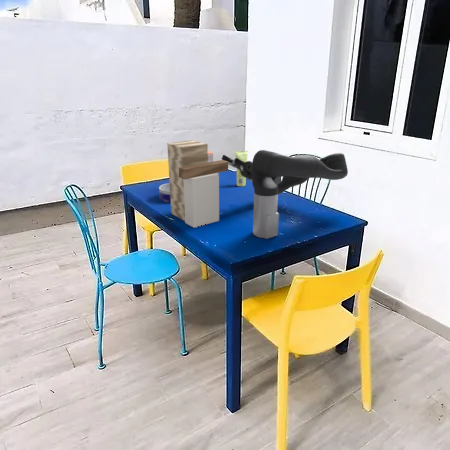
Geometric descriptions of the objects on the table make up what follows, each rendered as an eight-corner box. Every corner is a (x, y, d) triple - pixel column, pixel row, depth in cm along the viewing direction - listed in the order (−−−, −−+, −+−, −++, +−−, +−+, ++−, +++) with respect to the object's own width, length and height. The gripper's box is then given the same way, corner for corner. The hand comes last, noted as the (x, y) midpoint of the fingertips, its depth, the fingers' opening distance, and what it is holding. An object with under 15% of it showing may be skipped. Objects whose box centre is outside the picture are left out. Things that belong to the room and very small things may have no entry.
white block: (219, 220, 170) (218, 173, 162) (194, 227, 163) (192, 179, 155) (209, 216, 176) (209, 170, 168) (185, 222, 168) (183, 175, 160)
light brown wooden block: (228, 170, 167) (228, 161, 165) (184, 179, 155) (183, 169, 153) (222, 168, 170) (222, 159, 168) (178, 177, 158) (178, 167, 156)
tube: (239, 183, 224) (239, 149, 216) (247, 184, 221) (248, 150, 214) (235, 186, 219) (235, 151, 212) (243, 187, 217) (243, 152, 209)
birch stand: (208, 214, 177) (207, 144, 165) (185, 221, 170) (182, 147, 158) (194, 207, 186) (192, 140, 174) (171, 213, 179) (167, 143, 167)
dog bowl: (193, 200, 196) (193, 189, 194) (163, 204, 191) (162, 192, 189) (184, 192, 209) (184, 181, 207) (156, 195, 204) (155, 184, 202)
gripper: (259, 182, 174) (235, 169, 163) (239, 176, 185) (215, 163, 174) (266, 167, 174) (242, 152, 163) (245, 162, 184) (222, 148, 173)
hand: (228, 158), depth 168 cm, fingers open, 8 cm apart
